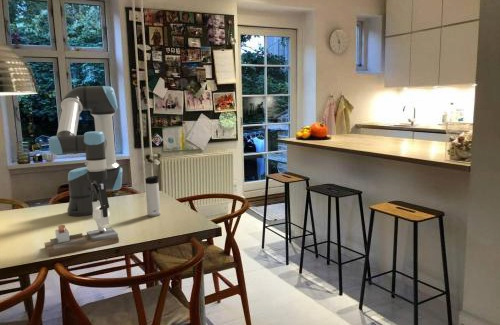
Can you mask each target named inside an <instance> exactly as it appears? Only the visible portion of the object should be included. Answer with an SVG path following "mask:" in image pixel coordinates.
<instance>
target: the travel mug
mask: <svg viewBox="0 0 500 325" xmlns="http://www.w3.org/2000/svg"><path fill="white" fill-rule="evenodd" d="M159 177H160V176H159V175H153V176H148V177H146V178H145V196H146V197H145V198H146V211H147V212H146V216H148V217H151V218H153V217H159V216H160V215H161V205H160V204H161V202H160V201H161V200H160V189H159V188H160V186H159V185H160V184H159Z"/></svg>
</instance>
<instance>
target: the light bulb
mask: <svg viewBox="0 0 500 325" xmlns="http://www.w3.org/2000/svg"><path fill="white" fill-rule="evenodd" d="M99 208H101V206H99V207H97V208H95V209H94V211H93V214H92V218H93V220H94V222H95V223H96V225H97V228H98V229H97V230H98V231H99V232H104V231H105V230H106V228H107V227H106V226H107V225H102V223H101V211H100V210H99ZM108 217H109V218H110V210H109V209H108Z"/></svg>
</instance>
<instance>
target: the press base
mask: <svg viewBox="0 0 500 325" xmlns="http://www.w3.org/2000/svg"><path fill="white" fill-rule="evenodd" d="M105 228H106V230H105V231H104V232H99V231H98V229H95V230H90V231H86V234H84V235H83V233H82V232H81V233H76V234H69V238H70V242H66V243H61V244H57V242H56V237H55V238H51V239H50V240H49V241H46V242H44V249H45V251H46V253H47V255H48V257H49V258H51V257H55V256H60V255H64V254H70V253H74V252H79V251H85V250H90V249H93V248H98V247H102V246H108V245H112V244H116V243H117V244H118V243H119V242H120V239H119V233H118V232H117V231H116V230H115V229H114V228H112V227H105Z"/></svg>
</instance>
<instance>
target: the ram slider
mask: <svg viewBox="0 0 500 325" xmlns="http://www.w3.org/2000/svg"><path fill="white" fill-rule="evenodd" d="M57 228H58V229H55V230H54V232H55V238H56V242H57V244H61V243H66V242H70V238H69V236H70V231H69V230H68V228H67V227H66V225H64V224H62V225H58V226H57Z"/></svg>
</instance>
